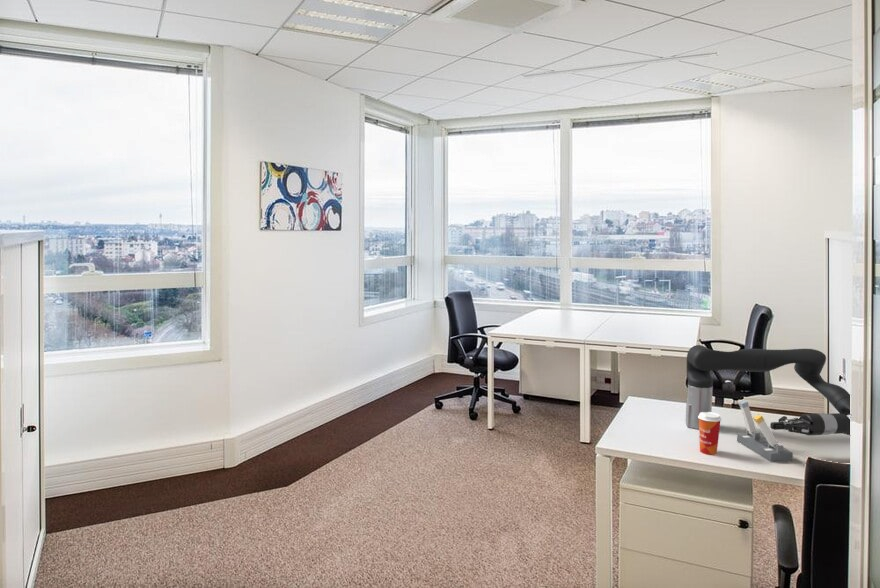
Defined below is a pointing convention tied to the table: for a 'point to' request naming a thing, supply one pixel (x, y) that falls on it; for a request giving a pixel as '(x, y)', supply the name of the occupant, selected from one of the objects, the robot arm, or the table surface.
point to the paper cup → (709, 432)
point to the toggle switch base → (764, 447)
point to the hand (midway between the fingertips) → (771, 426)
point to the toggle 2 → (765, 430)
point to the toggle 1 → (747, 417)
